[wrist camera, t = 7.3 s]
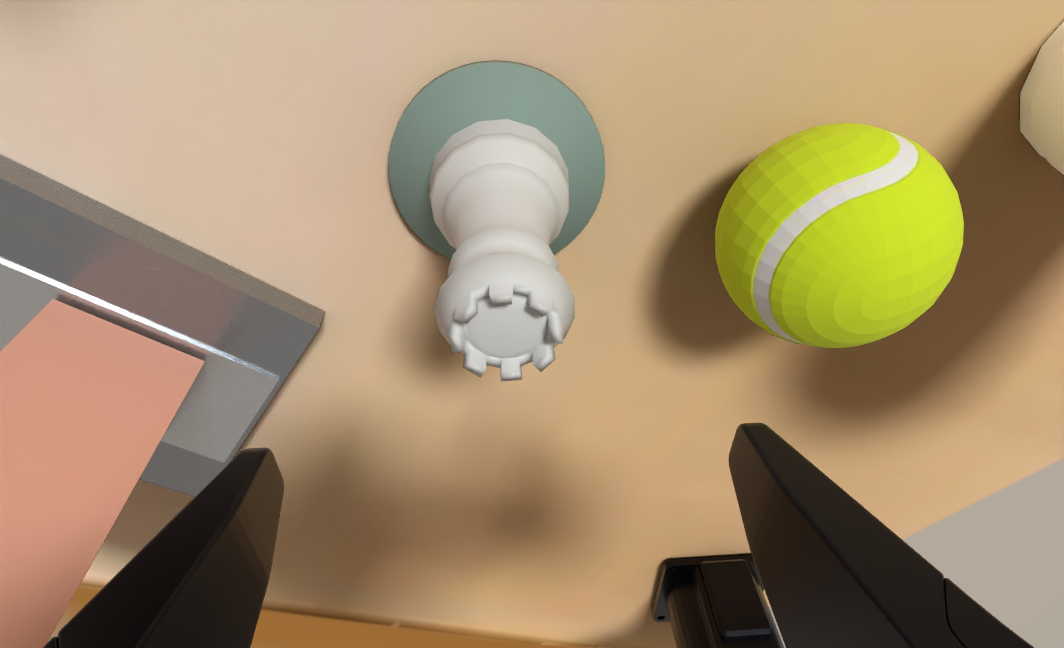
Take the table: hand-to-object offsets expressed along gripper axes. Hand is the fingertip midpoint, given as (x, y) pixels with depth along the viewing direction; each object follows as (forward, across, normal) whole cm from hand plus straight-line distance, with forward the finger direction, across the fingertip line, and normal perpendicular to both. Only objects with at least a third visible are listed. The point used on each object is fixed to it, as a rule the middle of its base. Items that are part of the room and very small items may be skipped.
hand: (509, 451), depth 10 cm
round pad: (+12, 0, 0) cm, 12 cm away
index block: (+11, +15, +7) cm, 19 cm away
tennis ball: (+12, -10, +1) cm, 16 cm away
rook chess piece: (+12, 0, 0) cm, 12 cm away
